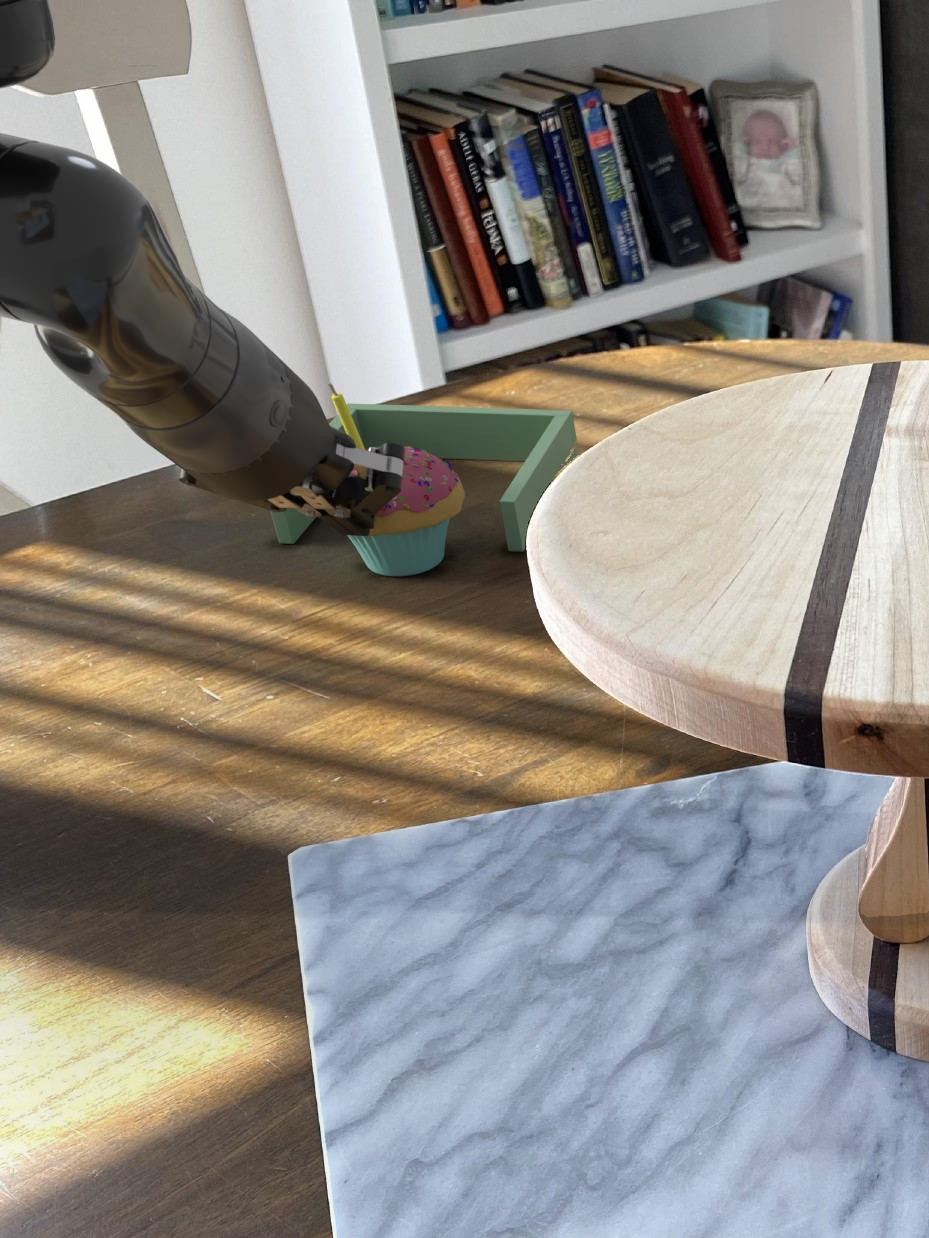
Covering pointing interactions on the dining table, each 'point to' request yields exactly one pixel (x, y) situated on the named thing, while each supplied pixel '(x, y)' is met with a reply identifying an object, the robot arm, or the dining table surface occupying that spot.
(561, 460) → the corral
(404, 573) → the cupcake
